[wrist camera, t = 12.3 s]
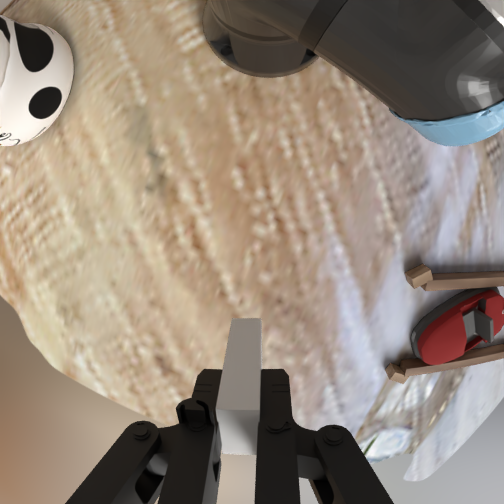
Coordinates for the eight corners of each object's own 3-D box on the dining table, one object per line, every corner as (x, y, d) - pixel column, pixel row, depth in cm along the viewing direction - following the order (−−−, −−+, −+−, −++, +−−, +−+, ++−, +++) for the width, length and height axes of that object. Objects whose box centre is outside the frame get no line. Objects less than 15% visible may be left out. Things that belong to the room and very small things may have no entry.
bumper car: (404, 320, 43) (432, 358, 34) (504, 264, 40) (542, 288, 31) (415, 365, 46) (438, 405, 36) (507, 312, 43) (539, 339, 33)
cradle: (406, 263, 40) (413, 270, 38) (531, 261, 40) (540, 266, 37) (383, 376, 46) (387, 385, 44) (503, 355, 45) (509, 362, 43)
